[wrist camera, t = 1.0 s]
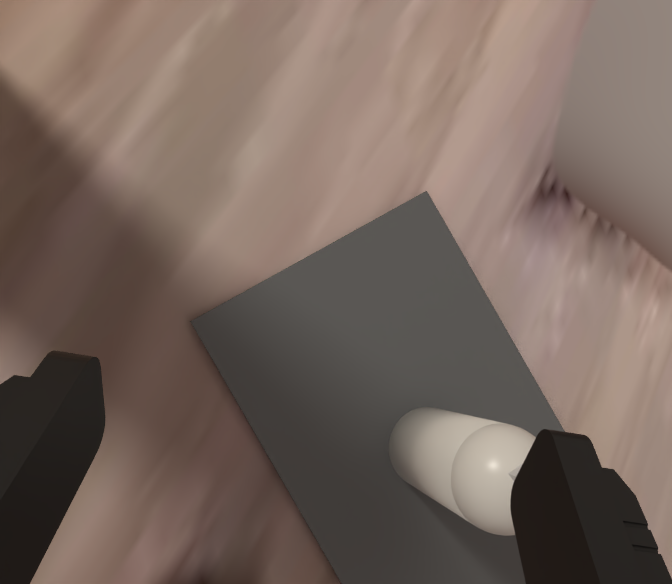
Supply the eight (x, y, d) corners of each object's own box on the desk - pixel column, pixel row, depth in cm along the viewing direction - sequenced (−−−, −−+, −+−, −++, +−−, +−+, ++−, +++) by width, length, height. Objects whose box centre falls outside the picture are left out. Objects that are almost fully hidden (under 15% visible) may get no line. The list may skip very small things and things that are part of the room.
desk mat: (190, 322, 32) (190, 321, 32) (424, 192, 36) (426, 190, 36) (406, 696, 33) (409, 700, 32) (617, 529, 36) (621, 531, 36)
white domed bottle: (374, 434, 33) (464, 476, 21) (438, 391, 34) (558, 409, 23) (414, 504, 33) (526, 585, 22) (477, 459, 35) (618, 513, 23)
